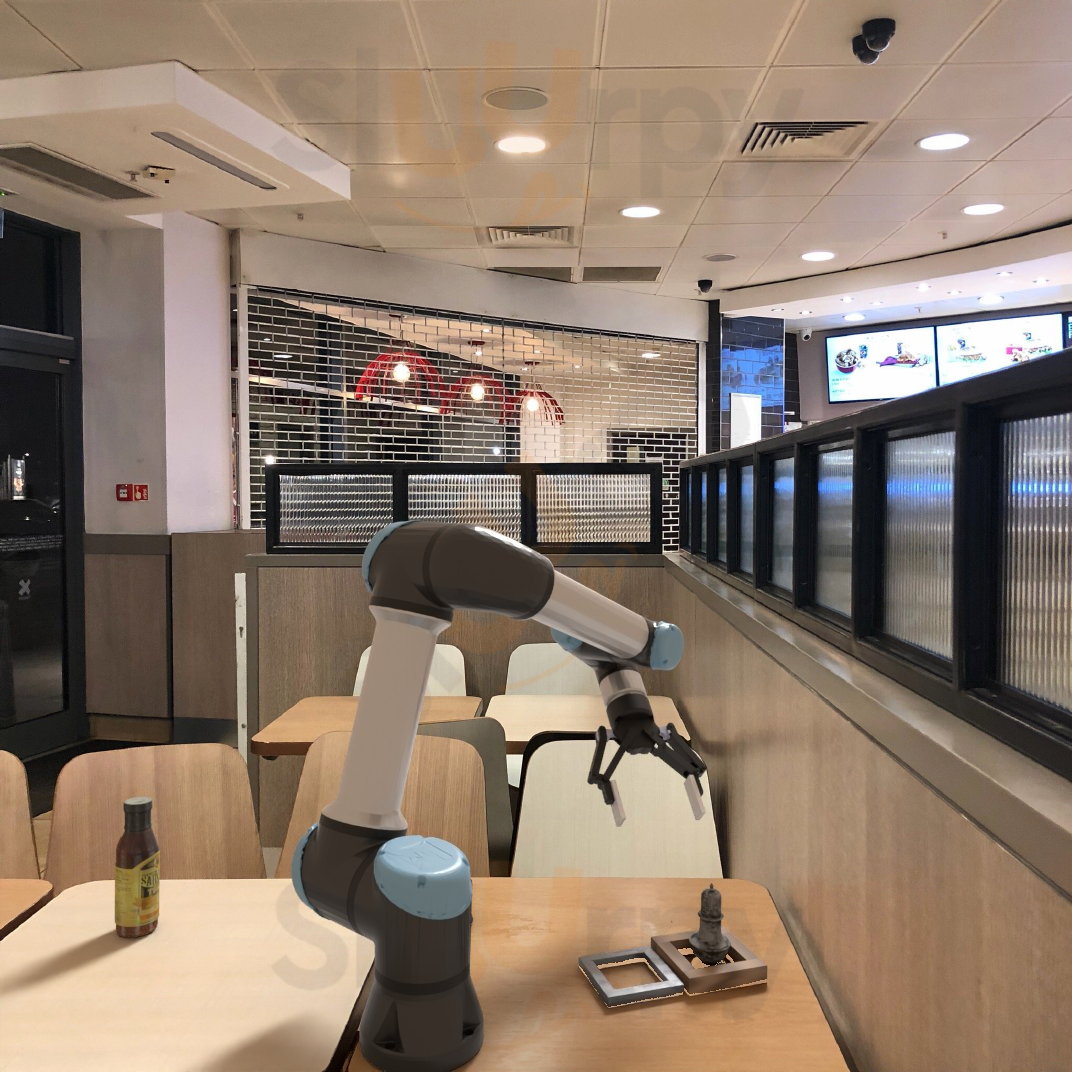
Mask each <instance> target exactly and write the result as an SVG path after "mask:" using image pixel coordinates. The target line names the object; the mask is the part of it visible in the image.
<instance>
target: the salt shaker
mask: <svg viewBox="0 0 1072 1072" xmlns="http://www.w3.org/2000/svg"><path fill="white" fill-rule="evenodd" d="M708 886H709V887H708V888H705V889H703V890H702V892H701V894H700V910H699V911H697V916H698V918H699V928H698V930H699V931H698V932H696V933H693V934H692V935H691V936H690V937H689V941H690V943H691V947H692V950H693V953H694V954H693V955H694V956H695V957H696V956H697V957H698V958H699V959H700V960H701V961H702V963H704V964H706V965H710V966H715V965H716V964H717V965H722V964H725V963H722V962H721V960H722V959H723V960H724V959H726V958H725V957H726V955H727V952H728V949H729V948H730V946H731V942H730V940H729V939H728V938H727V937H726V936H724V935H722V932H721V926H722V920H723V919H724V914H723V912H722V893H721V892H720V891H719V890H717V889H716V888H714V887H715V884H713V883H710V884H709V885H708ZM724 961H725V960H724ZM724 961H723V962H724ZM717 962H718V963H719V962H721V963H719V964H718V963H717ZM710 966H708V967H710Z"/></svg>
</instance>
